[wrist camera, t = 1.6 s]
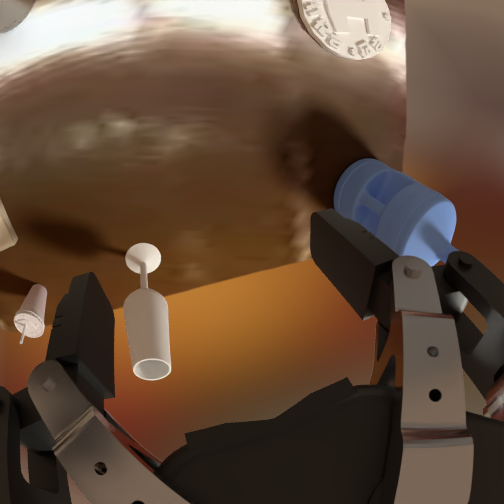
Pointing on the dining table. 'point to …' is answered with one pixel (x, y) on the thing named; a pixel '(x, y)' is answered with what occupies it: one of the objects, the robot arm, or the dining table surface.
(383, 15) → the embossed medallion
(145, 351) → the champagne flute
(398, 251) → the water jug
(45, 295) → the smoothie
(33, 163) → the dining table surface
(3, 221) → the beech pedestal
